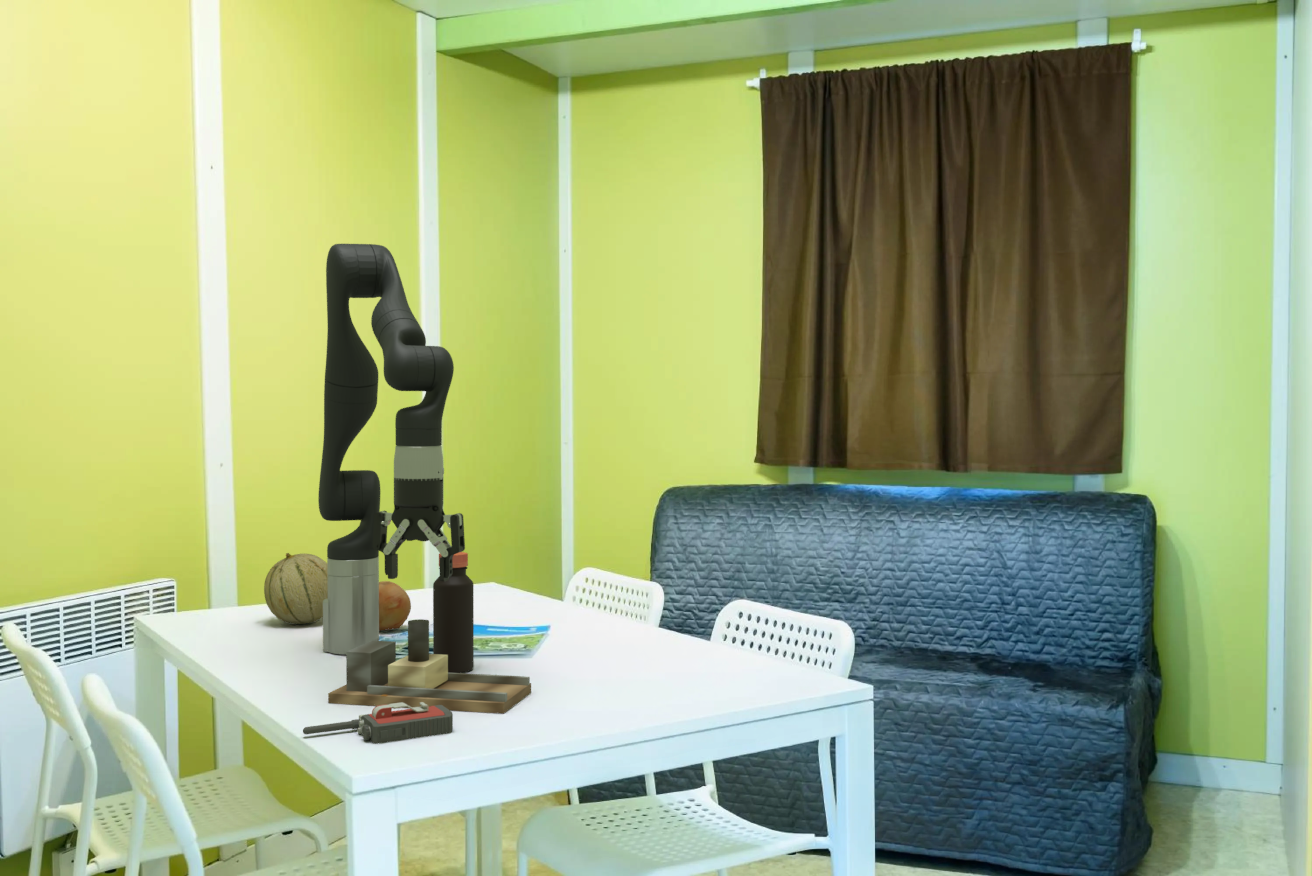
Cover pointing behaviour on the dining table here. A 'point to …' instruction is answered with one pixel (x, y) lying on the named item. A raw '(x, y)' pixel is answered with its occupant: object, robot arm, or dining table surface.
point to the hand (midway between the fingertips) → (418, 579)
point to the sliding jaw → (418, 661)
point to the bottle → (454, 617)
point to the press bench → (454, 694)
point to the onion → (392, 606)
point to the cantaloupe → (297, 588)
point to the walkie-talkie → (395, 723)
